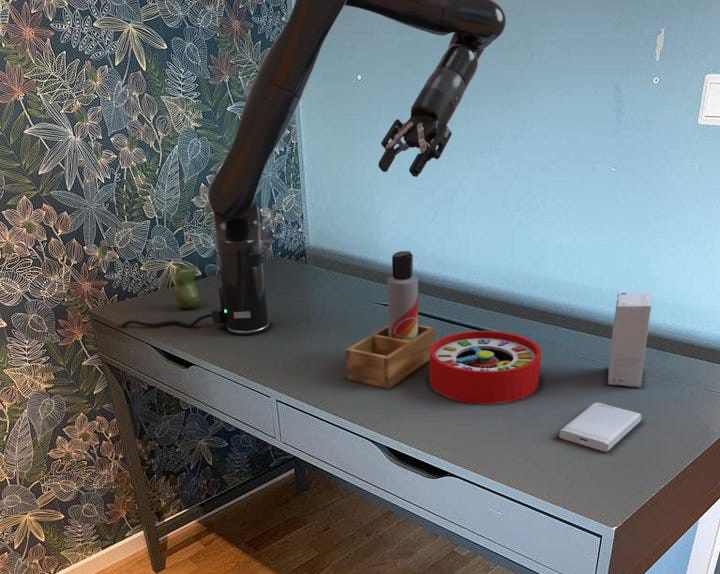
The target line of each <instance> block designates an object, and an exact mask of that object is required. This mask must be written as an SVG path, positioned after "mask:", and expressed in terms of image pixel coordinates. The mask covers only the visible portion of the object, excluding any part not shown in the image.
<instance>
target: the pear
mask: <svg viewBox="0 0 720 574" xmlns="http://www.w3.org/2000/svg"><path fill="white" fill-rule="evenodd" d="M195 278H196V273H195V271H194V270H193V269H192V268H190V267H189V266H188V265H179V267H178V268H176V271H175V273H174V280H175V284H174V297H175V300H176V303H177V304H178V305H179V306H180V307H181V308H183V309H186V310H187V309H189V310H190V309H193V308H195V307H197V305H198V304H199V302H200V294H199V289H198V287H197V286H196V283H195Z"/></svg>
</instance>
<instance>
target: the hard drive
mask: <svg viewBox="0 0 720 574" xmlns="http://www.w3.org/2000/svg"><path fill="white" fill-rule="evenodd" d="M641 420H642V414H641V413H639V412H635V411H632V410H628V409H625V408H621V407H617V406H613V405H610V404H605V403H601V402H594V403H593V404H591V405H590V406H589V407H587V409H585V410H584V411H583V412H581V413H579V415H578V416H576V417H575V418H574V419H573V420H571V421H570V422H569V423H567V424H566V425H565V426H564V427H563V428H561V429H560V430H559V435H558V436H559V438H560V439H562V440H564V441H568V442H572V443H575V444H577V445H581V446H585V447H588V448H591V449H594V450H597V451H601V452H603V453H604V452H609V451H610V450H611V449H612V448H613V447H614V446H615V445H616V444H618V442H620V441H621V440H622V439H623V438H624V437H625V436H626V435H627V434H629V432H631V430H633V429H634V428H635V427H636V426H637V425H638V424H639V423H640V422H641Z"/></svg>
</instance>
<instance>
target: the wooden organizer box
mask: <svg viewBox="0 0 720 574" xmlns="http://www.w3.org/2000/svg"><path fill="white" fill-rule="evenodd" d="M435 342H436V328H435V327H432V326H427V325H421V324H418V336H417V337H415V338H414V339H412V340H411V341H407V340H402V339H396V338H391V337H389V326H388V324H386V325H384V326H383V327H381V328H380V329H378V330H376V331H374V332H373V333H371V334H369V335H368V336H366V337H364V338H363V339H361V340H360V341H357V342H356V343H354V344H353V345H351V346H350V347H348V348H346V349H345V357H346V359H345V360H346V361H345V362H346V375H347V380H348V381H349V380H350V381H353V382H358V383H360V384H361V383H362V384H365V385H371V386H374V387H379V388H383V389H388V390H390V389H392V387H393V386H395V385H397V384H398V383H399V382H401V381H402V380H404V379H405V378H407V377H408V376H409V375H411V374H412V373H413V372H415V371H416V370H418V369H419V368H421V367H422V366H423V365H425V364H426V363H428V362H430V348H431V346H432V345H433V344H434V343H435Z"/></svg>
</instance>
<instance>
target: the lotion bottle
mask: <svg viewBox="0 0 720 574" xmlns="http://www.w3.org/2000/svg"><path fill="white" fill-rule="evenodd" d="M391 261H392V262H391V264H392V267H391V269H392V275H391V276H389V277H388V278H387V315H388V316H387V319H388V321H387V322H388V323H387V325H388V326H389V337H391V338H396V339H402V340H407V341H411V340H412V339H414V338H415V337H417V336H418V325H419V278H418V277H417V276H416V275H414V255H413V254H412V251H409V250H401V251H398V252H395V253H393V254H392V255H391Z"/></svg>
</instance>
